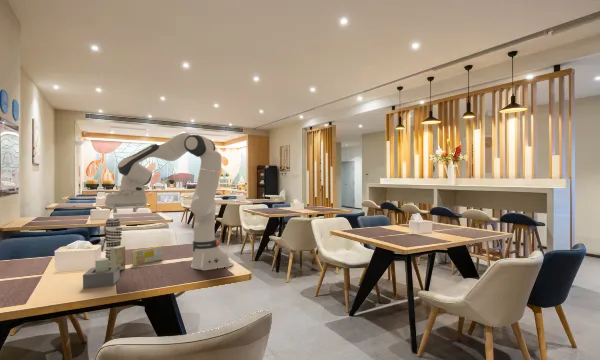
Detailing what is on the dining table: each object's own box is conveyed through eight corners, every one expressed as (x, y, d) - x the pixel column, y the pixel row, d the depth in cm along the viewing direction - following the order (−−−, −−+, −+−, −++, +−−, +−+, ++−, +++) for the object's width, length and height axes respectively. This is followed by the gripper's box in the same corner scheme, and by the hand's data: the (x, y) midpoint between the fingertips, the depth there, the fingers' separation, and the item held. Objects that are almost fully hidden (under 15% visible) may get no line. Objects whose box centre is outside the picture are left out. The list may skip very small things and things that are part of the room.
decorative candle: (120, 257, 199) (119, 217, 198) (124, 260, 192) (123, 218, 192) (103, 260, 193) (102, 218, 192) (106, 263, 186) (106, 219, 185)
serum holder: (119, 277, 158) (119, 265, 158) (113, 285, 147) (113, 272, 147) (91, 280, 155) (91, 267, 155) (83, 288, 143) (82, 275, 143)
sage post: (109, 278, 154) (108, 257, 154) (106, 281, 149) (106, 260, 149) (98, 279, 152) (98, 258, 152) (95, 282, 148) (95, 260, 148)
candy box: (161, 259, 193) (160, 245, 193) (162, 260, 192) (162, 246, 192) (132, 265, 182) (131, 250, 182) (133, 265, 180) (133, 251, 180)
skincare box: (117, 271, 169) (116, 248, 169) (109, 271, 170) (109, 248, 170) (126, 268, 175) (125, 245, 175) (119, 267, 176) (118, 245, 176)
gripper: (105, 189, 176) (101, 208, 167) (147, 188, 182) (144, 207, 173) (108, 197, 180) (103, 216, 171) (148, 195, 187) (146, 214, 178)
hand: (124, 211), depth 172 cm, fingers open, 8 cm apart
